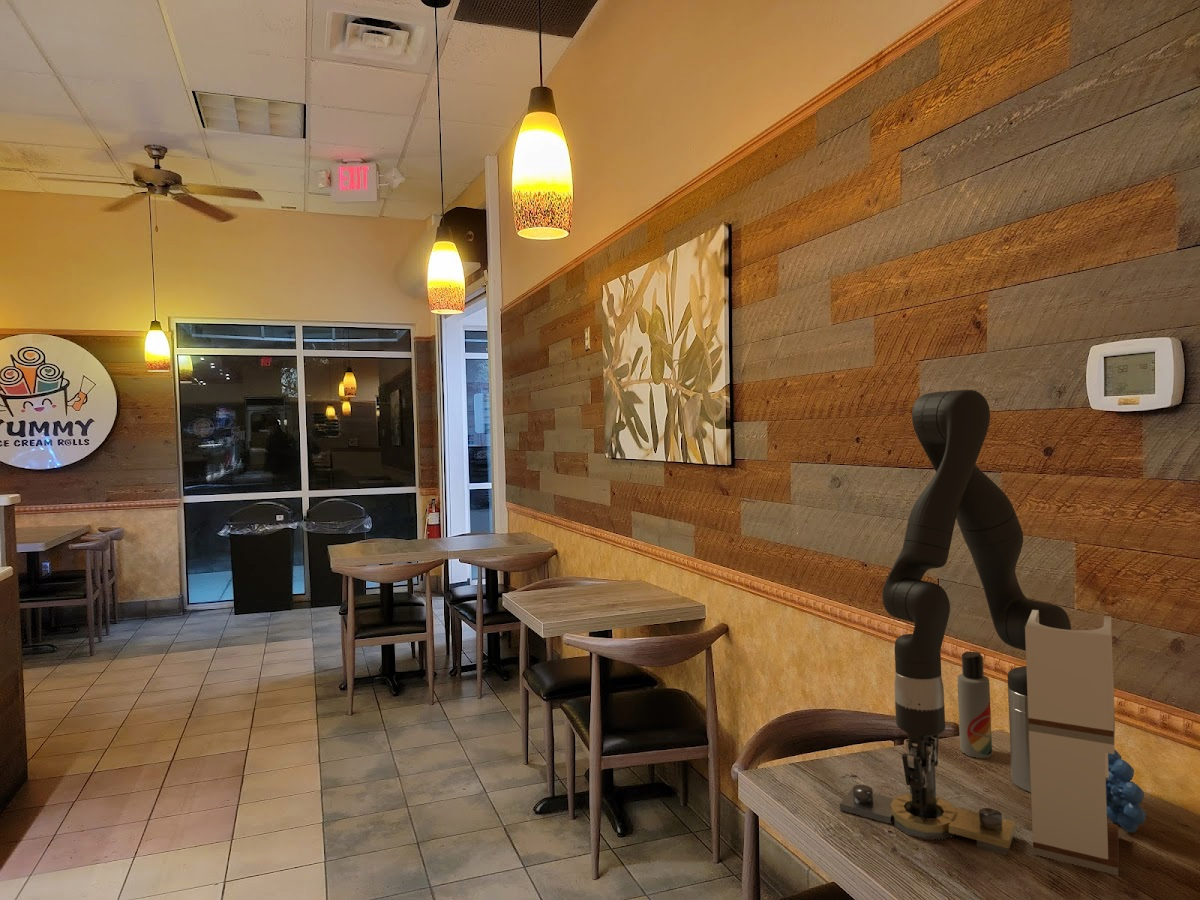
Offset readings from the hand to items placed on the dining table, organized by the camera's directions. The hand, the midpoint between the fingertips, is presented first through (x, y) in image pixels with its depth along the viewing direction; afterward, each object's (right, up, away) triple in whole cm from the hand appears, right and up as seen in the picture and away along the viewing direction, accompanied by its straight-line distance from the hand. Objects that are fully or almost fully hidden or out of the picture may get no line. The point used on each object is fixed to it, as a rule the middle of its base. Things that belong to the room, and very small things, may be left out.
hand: (923, 801), depth 124 cm
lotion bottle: (+21, -2, +24) cm, 32 cm away
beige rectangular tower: (+20, -3, -9) cm, 22 cm away
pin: (0, -2, 0) cm, 2 cm away
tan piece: (0, -4, 0) cm, 4 cm away
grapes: (+29, -2, -3) cm, 29 cm away
